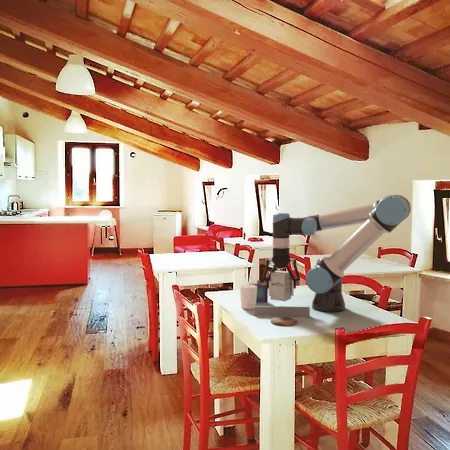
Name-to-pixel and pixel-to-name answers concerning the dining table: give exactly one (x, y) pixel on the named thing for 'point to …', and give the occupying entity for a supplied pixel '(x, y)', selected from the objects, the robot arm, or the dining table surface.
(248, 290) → the white cup
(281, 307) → the low wall
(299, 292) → the dining table surface
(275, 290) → the supplement box
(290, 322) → the coaster
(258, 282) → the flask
